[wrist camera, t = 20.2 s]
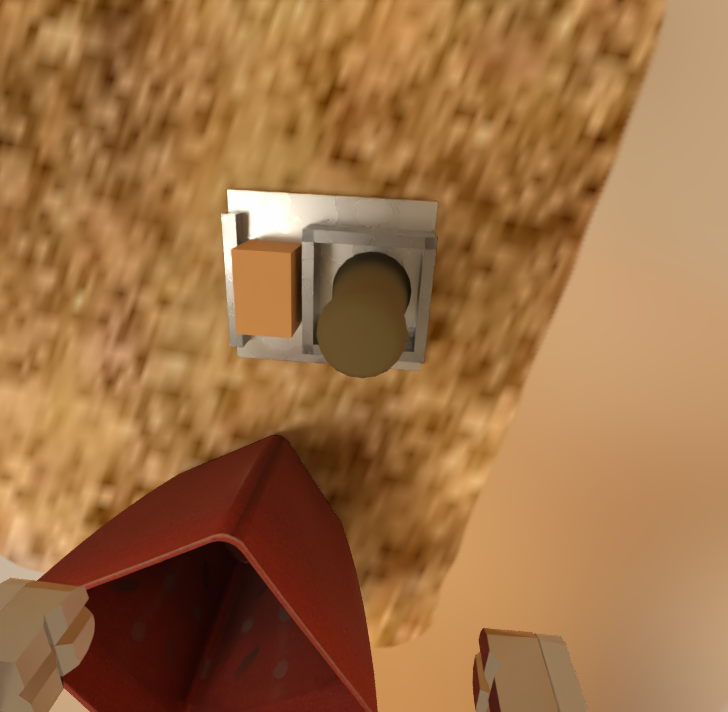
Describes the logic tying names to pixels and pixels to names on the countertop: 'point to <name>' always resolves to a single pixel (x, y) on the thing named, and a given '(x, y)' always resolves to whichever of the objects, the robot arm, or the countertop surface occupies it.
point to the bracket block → (267, 288)
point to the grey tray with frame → (333, 258)
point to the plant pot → (223, 596)
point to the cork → (365, 316)
